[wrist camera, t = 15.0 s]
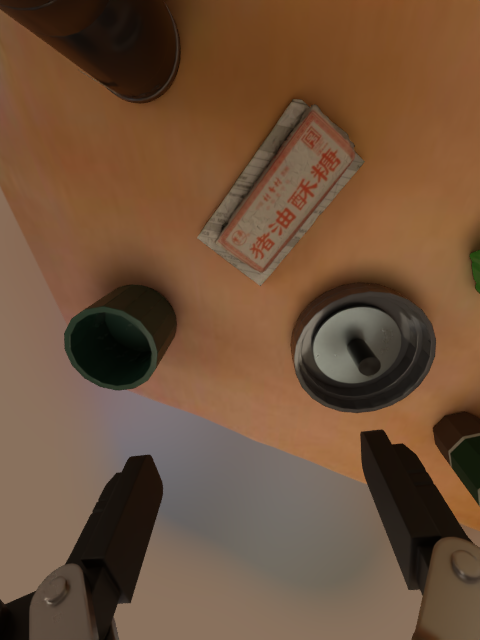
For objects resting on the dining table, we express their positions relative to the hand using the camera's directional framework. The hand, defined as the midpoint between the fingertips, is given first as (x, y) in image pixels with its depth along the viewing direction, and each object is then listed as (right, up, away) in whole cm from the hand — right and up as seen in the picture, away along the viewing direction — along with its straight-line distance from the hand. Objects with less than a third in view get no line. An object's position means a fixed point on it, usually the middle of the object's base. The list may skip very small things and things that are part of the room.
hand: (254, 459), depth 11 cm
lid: (+15, +2, +29) cm, 33 cm away
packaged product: (+4, +19, +24) cm, 31 cm away
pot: (-15, +5, +31) cm, 34 cm away
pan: (+15, +2, +30) cm, 34 cm away
